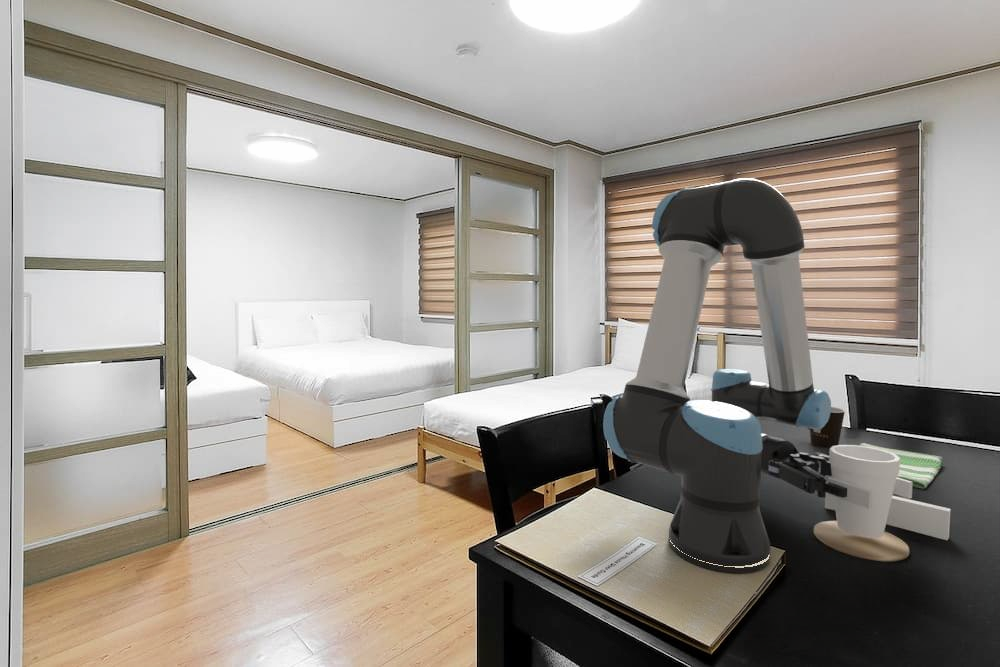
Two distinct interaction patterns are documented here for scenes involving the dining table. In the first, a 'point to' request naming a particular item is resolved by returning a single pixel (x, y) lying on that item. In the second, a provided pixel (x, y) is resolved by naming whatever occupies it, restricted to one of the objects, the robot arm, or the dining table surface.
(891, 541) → the cork coaster
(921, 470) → the dish towel
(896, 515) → the low wall
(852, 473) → the foam cup
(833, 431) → the coffee mug
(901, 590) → the dining table surface
